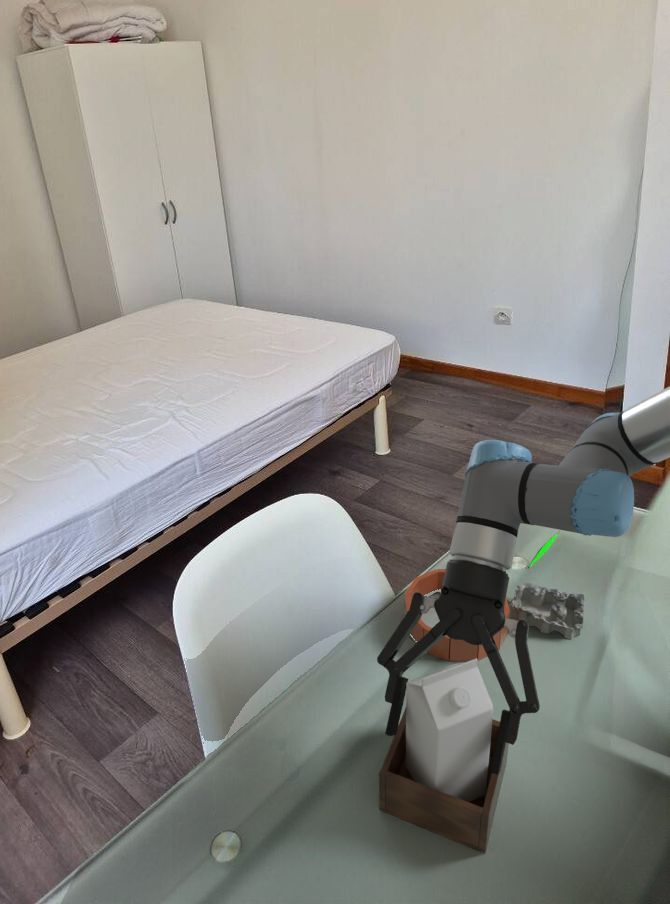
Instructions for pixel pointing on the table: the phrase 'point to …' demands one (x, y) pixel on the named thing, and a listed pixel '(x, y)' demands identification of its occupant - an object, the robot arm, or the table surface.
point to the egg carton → (549, 609)
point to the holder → (438, 797)
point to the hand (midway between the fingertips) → (441, 752)
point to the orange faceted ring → (447, 645)
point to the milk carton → (449, 730)
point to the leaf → (543, 550)
